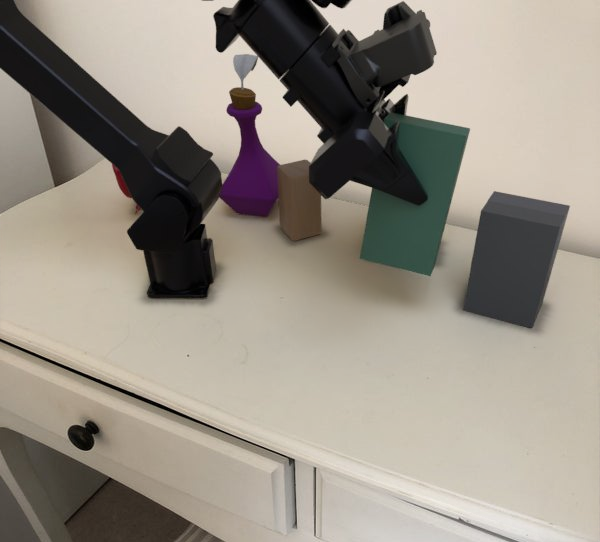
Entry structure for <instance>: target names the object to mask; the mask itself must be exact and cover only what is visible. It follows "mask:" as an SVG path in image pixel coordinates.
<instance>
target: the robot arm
mask: <svg viewBox="0 0 600 542" xmlns="http://www.w3.org/2000/svg"><path fill="white" fill-rule="evenodd" d="M203 1H204V2H209V1H210V2H213V1H214V0H202V2H203ZM352 1H353V0H237V1H236V3H235V4H234V5H233V6H232V7H227V6H221V8H219V9H218V10H216V11H215V12H214V13H213V15H212V17H213V20H214V26H215V50H216V51H217V52H218V53H220V54H221V53H224V52H225V51H226V50H227V49H228V48H229V47H230V46H232V45H233V44H234V43H235V42H236V41H237V40H238V39H239V37H240V38H241V39H242V40H243V42H244V43H245V44H246V45H247V46H248V47H249V48H250V49H251V50H252V52H253V53H254V55H255V56H258V59H260V61H261V62H262V63H263V64H264V65H265V66H266V68H268V70H270V72H271V73H272V74H273V75H274V76H275V77H276V78H277V80H279V82H280V83H281V84H282V85H283V87H284V88H285V89H286V91H285V93H284V94H283V95H282V99H283V100H284V102H286V104H288V105H289V107H291V108H292V107H293V106H294V105H295V103H299V104H300V105H301V107H302V108H303V109H304V110H305V111H306V113H308V115H310V117H311V118H312V119H313V120H314V122H316V124H317V125H318V126H319V127H320V130H319V131H318V133H317V134H316V137H317V138H318V139H319V140H320V141H321V142H322V145H320V147H319V148H317V150H316V152H315V154H314V156H313V158H312V160H311V161H310V165H309V183H310V184H311V185H312V186H313V187H314V188H315V189H316V190H317V191H318V192H319V194H320V195H321V198H323V200H329V199H330V198H331V197H332V196H334V195H335V194H336V193H337V192H339V190H341V189H342V188H343V187H344V186H345V185H347V184H348V183H349V182H353V183H356V184H358V185H361V186H365V187H368V188H371V189H372V188H374V189H377V190H380V191H382V192H385V193H388V194H390V195H393V196H395V197H398V198H400V199H403V200H405V201H408V202H410V203H413V204H415V205H418V206H419V205H421V204H423V203H424V202H425V201H427V199H428V195H427V193H426V192H425V190H424V188H423V186H422V184H421V183H420V181H419V179H418V178H417V176H416V175H415V173H414V171H413V170H412V168H411V167H410V165H409V163H408V162H407V160H406V159H405V157H404V155H403V154H402V152H401V151H400V149H399V147H398V139H399V126H400V122H399V120H398V121H397V122H396V123H395V124H393V125H392V126H391V127H390V128H389V129H388V127H387V126H386V125H385V124H384V118H385V117H386V116H387V115H388V114H389V113H390V112H392V113H397V114H402V115H406V116H407V112H408V111H407V110H408V104H409V94H408V93H405V94H404V95H403V96H401V98H400V99H398V101H396V102H395V103H394V102H393V101H392V99H391V98H388V99H387V100H385V99H386V98H387V97H388V96H390V94H391V93H392V92H393V91H394V90H396V88H397V87H398V86H399V87H401V88H404V87H405V86H406V85H407V84H408V83H409V80H410V78H411V75H413V76H417V75H419V74H421V73H424V72H426V71H427V70H429V69H430V68H432V67H433V66H434V64H435V56H437V53H438V52H437V48H436V45H435V43H434V39H433V35H432V32H431V29H430V28H431V21H430V20H429V19H428V18H427V15H426V12H425V11H423V10H422V9H420V10H417V11H416V12H415V10H413V9H412V8H411V7H410V6H409V5H408V4H407V3H406V2H405V1H404V0H402V1H401V2H398V3H396V4H394V5H391V6H389V7H388V8H387V9H386V10H385V11H384V14H383V24H382V29H377V30H374V32H373V33H372V34H371V35H369V36H367V37H365V38H363V39H361V40H359V39H358V38H357V37H356V36H355V35H354V33H353V32H352V31H351V30H349V29H347V30H345V29H344V28H342V29H341V31H340V32H338V31H336V30H335V28H334V27H333V26H332V25H331V24H330V23H329V21H328V20H327V18H325V16H324V15H323V14H322V13H321V12H320V10H319V9H318V8H317V6H318V7H319V8H320V9H328V7H329V6H330V5H331V4H332V5H333V6H335V7H336V8H339V9H341V10H342V9H345V8H347V6H348V5H349V4H350V3H352ZM0 70H1V71H2V72H4V73H5V74H6V75H7V76H8V77H10V78H11V80H13V81H14V82H16V83H17V84H18V85H19V86H20V87H21V88H23V90H25V91H26V92H27V93H28V94H30V95H31V96H32V97H33V98H34V99H35V100H37V102H39V103H40V104H41V105H43V106H44V107H45V108H46V109H47V110H48V111H50V112H51V113H52V114H53V115H54V116H55V117H56V118H57V119H59V120H60V122H62V123H63V124H65V125H66V126H67V127H68V128H70V129H71V130H72V132H74V133H75V134H77V135H78V136H79V137H80V138H81V139H82V140H84V142H86V143H87V144H88V145H89V146H90V147H92V148H93V149H94V150H95V151H96V152H97V153H99V154H100V155H101V156H103V157H104V158H105V160H107V161H108V162H109V163H110V164H111V165H112V164H113V165H114V166H115V167H116V168H117V169H118V170H119V172H120V173H121V175H122V178H123V180H124V182H125V184H126V186H127V188H128V190H129V193H130V195H131V197H132V198H131V199H132V201H133V202H134V203H135V204H136V205H138V206H139V207H140V208H141V209H140V210H141V211H142V213H141V214H140V215H139V216H138V217H137V218H136V220H135V221H134V222H133V223H132V224H131V225H130V226H129V228H128V229H127V230H126V234H127V235H128V238H129V239H130V241H131V243H132V244H133V246H134V248H135V249H136V250H137V251H142V252H143V257H144V263H145V265H146V270H147V276H148V281H149V285H148V288H147V290H146V297H147V298H149V299H206V298H207V297H208V296H209V292H210V289H211V286H212V285H213V284H214V283H215V279H216V275H217V270H218V269H217V264H216V255H215V254H216V253H215V247H214V240H213V239H212V238H211V237H208V234H207V226H206V224H205V223H203V222H204V220H205V219H206V217H207V216H208V214H209V213H210V212H211V211H212V209H213V208H214V206H215V205H216V204H217V202H218V200H219V199H220V195H221V193H222V186H223V185H222V184H223V178H222V172H221V170H220V169H219V166H218V165H217V164H216V163H215V162H214V160H213V159H211V158H212V157H213V156H214V152H213V151H210V150H208V149H205V148H204V147H202V146H201V145H200V144H199V143H198V142H197V141H195V139H194V138H193V137H192V135H190V133H189V132H188V131H187V130H186V129H184V128H183V127H181V126H177V127H176V128H175V129H174V130H172V131H171V133H170V134H166V133H164V132H161V131H158V130H154V129H153V128H151V127H150V126H148V125H147V124H145V122H143V120H141V119H140V118H139V117H137V115H136V114H134V112H132V111H131V110H130V109H129V108H128V107H127V106H125V105H124V104H123V103H122V102H121V101H120V100H119V99H117V98H116V97H115V96H114V95H113V94H112V93H111V92H110V91H108V90H107V89H106V88H105V87H104V86H103V85H102V84H101V83H100V82H99V81H98V80H97V79H95V77H93V76H92V75H91V74H90V73H88V72H87V71H86V70H85V68H83V67H81V66H80V64H78V63H77V62H76V61H75V59H73V58H72V57H71V56H70V55H69V54H68V53H66V52H65V51H64V50H62V48H60V46H58V44H56V43H55V42H54V41H53V40H51V39H50V38H49V36H47V35H46V34H45V33H44V32H43V31H41V29H40V28H38V27H37V26H36V25H35V24H34V23H33V22H31V20H29V18H27V17H26V16H25V15H24V14H23V13H22V11H20V10H19V8H18V6H17V4H16V2H15V0H0Z"/></svg>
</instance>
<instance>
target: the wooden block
mask: <svg viewBox="0 0 600 542" xmlns="http://www.w3.org/2000/svg"><path fill="white" fill-rule="evenodd" d="M310 163H311V161H309V160H308V159H300V160H297V161H291V162H288V163H283V164H280V165H279V166H277V178H278V197H279V198H278V213H279V214H278V217H279V228H280V230H282V231H283V232H284V233H285V234H286V236H287V237H288V238H289V239H290V240H291V241H295V242H296V241H299V240H302V239H306V238H310V237H315V236H318V235H320V234H321V233H322V196H321V195H320V194H319V192H318V191H317V190H316V189H315V188H314V187H313V186H312V185H311V184H310V183H309V165H310Z"/></svg>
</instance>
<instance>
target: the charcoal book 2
mask: <svg viewBox="0 0 600 542" xmlns="http://www.w3.org/2000/svg"><path fill="white" fill-rule="evenodd" d="M487 201H493V202H498V203H503V204H508V205H513V206H518V207H523V208H528V209H533V210H538V211H543V212H548V213H553V214H558V215H563V216H565V219H564V223H563V227H562V230H561V234H560V237H559V241H558V244H557V248H556V251H555V255H554V259H553V262H552V266H551V269H550V273H549V276H548V280H547V283H546V287H545V291H544V294H543V298H542V301H541V305H540V308H539V312H538V314H539V313H540V311H541V310H542V309H541V308H542V306H543V303H544V299H545V296H546V292H547V290H548V287H549V286H548V285H549V282H550V278H551V275H552V271H553V269H554V264H555V261H556V257H557V255H558V250H559V247H560V243H561V240H562V236H563V232H564V228H565V225H566V222H567V218H568V215H569V212H570V208H571V206H570V205H569V204H563V203H559V202H554V201H549V200H548V201H547V200H544V199H538V198H532V197H527V196H521V195H518V194H517V195H516V194H511V193H507V192H501V191H496V190H494V191H493V192H492V193H491V195H490V196H489V198H488V199H487Z"/></svg>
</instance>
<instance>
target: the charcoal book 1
mask: <svg viewBox="0 0 600 542" xmlns="http://www.w3.org/2000/svg"><path fill="white" fill-rule="evenodd" d="M564 219H565V216H563V215H558V214H553V213H548V212H543V211H538V210H533V209H528V208H523V207H518V206H513V205H508V204H503V203H498V202H493V201H488V200H487V201H486V203H484V206H483V207H482V208H481V210H480V215H479V220H478V225H477V229H476V237H475V242H474V246H473V247H474V248H473V252H472V253H473V254H472V259H471V263H470V269H469V275H468V280H467V285H466V291H465V295H464V302H463V309H462V311H465V312H469V313H473V314H475V315H480V316H483V317H488V318H492V319H495V320H499V321H503V322H507V323H511V324H515V325H518V326H521V327H526V328H530V329H533V327H534V325H535V323H536V320H537V318H538V315H539V313H540V311H539V308H540V305H541V301H542V298H543V294H544V291H545V287H546V283H547V280H548V276H549V273H550V269H551V266H552V262H553V259H554V255H555V251H556V248H557V244H558V241H559V237H560V234H561V230H562V227H563V223H564ZM538 312H539V313H538Z"/></svg>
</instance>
